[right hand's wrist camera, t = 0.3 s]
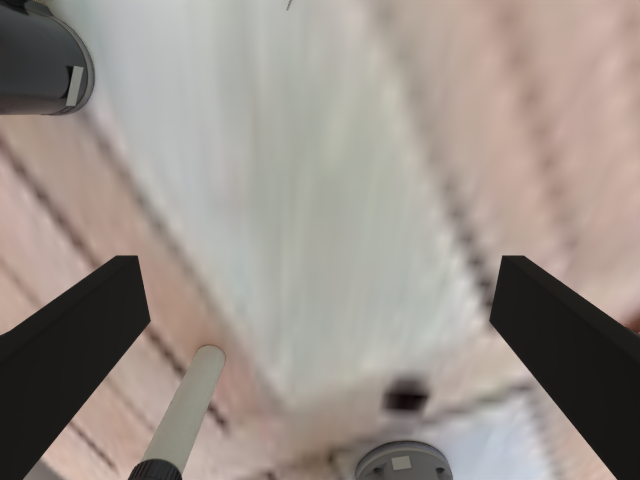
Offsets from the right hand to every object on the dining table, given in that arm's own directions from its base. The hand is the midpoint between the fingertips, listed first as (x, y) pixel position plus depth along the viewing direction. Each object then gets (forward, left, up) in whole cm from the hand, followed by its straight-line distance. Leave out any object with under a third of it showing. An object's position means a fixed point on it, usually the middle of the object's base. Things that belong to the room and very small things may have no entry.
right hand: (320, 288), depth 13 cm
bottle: (-26, +15, -28) cm, 41 cm away
